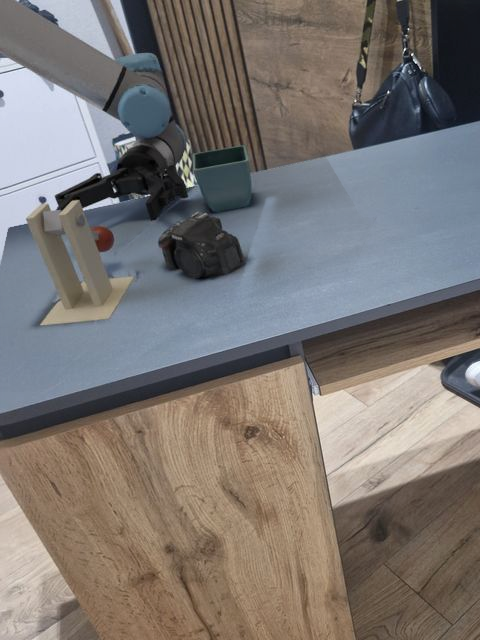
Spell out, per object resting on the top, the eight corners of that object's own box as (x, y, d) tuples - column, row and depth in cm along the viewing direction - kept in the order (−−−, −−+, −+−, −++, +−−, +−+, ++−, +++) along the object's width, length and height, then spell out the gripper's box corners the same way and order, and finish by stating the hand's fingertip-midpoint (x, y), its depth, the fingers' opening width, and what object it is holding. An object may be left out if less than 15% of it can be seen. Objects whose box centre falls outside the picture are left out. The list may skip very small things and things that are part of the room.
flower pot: (260, 213, 105) (248, 159, 100) (206, 223, 104) (192, 169, 99) (255, 195, 112) (245, 143, 107) (205, 204, 111) (192, 153, 106)
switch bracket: (74, 289, 90) (36, 195, 82) (137, 283, 89) (104, 188, 81) (43, 332, 81) (-4, 232, 73) (112, 326, 80) (72, 223, 72)
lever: (95, 255, 91) (93, 230, 91) (119, 252, 91) (117, 227, 91) (39, 237, 77) (36, 207, 77) (68, 233, 76) (65, 203, 76)
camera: (155, 287, 87) (136, 229, 82) (182, 258, 94) (166, 203, 89) (233, 288, 84) (218, 228, 79) (255, 258, 91) (242, 201, 86)
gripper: (222, 179, 110) (196, 232, 92) (82, 195, 111) (31, 249, 94) (212, 135, 105) (182, 181, 88) (67, 152, 107) (9, 200, 90)
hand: (104, 216), depth 91 cm, fingers open, 13 cm apart
